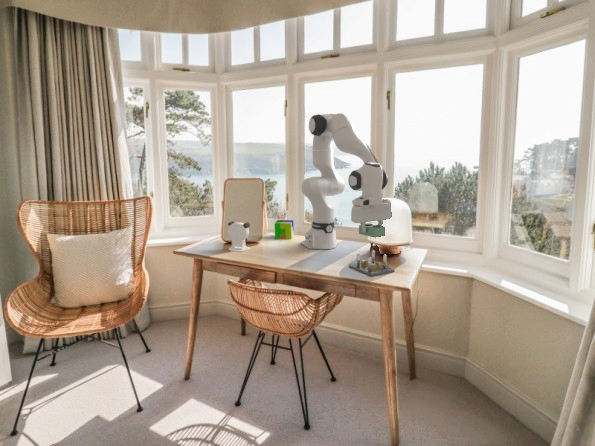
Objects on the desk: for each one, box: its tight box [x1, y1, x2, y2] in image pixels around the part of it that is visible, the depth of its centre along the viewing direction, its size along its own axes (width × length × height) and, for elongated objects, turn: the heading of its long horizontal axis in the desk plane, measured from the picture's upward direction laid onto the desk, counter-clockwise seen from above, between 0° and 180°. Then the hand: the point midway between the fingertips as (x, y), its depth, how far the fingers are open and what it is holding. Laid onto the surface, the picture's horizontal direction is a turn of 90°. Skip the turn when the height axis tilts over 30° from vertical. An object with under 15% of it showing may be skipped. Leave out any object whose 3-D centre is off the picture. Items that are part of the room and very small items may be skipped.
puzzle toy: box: [274, 219, 295, 240], centre depth 240 cm, size 10×10×10 cm
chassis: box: [348, 251, 395, 277], centre depth 175 cm, size 16×13×7 cm
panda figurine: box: [227, 221, 251, 253], centre depth 213 cm, size 12×11×15 cm
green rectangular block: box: [358, 222, 385, 239], centre depth 172 cm, size 10×6×5 cm, turn 32°
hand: (371, 230), depth 172 cm, fingers closed on green rectangular block, 6 cm apart
